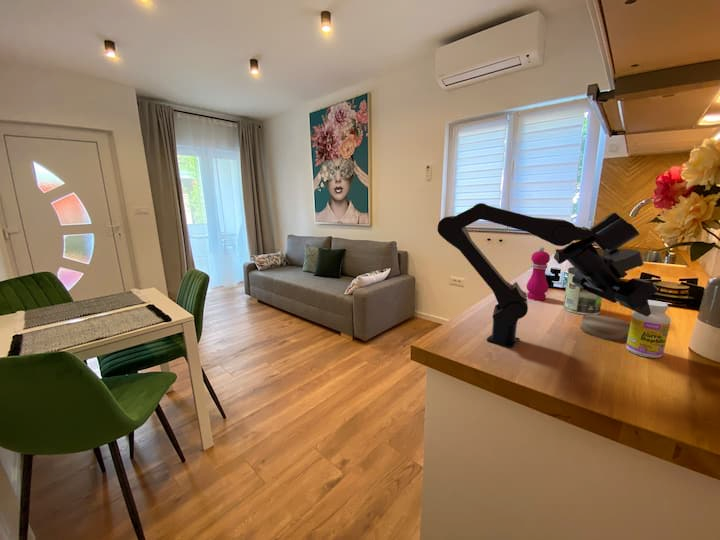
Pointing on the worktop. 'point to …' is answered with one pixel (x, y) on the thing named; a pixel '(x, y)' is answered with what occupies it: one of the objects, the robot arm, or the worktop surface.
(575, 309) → the coffee can
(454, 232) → the robot arm
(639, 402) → the worktop surface
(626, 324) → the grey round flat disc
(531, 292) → the pepper mill
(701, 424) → the worktop surface
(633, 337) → the supplement bottle
